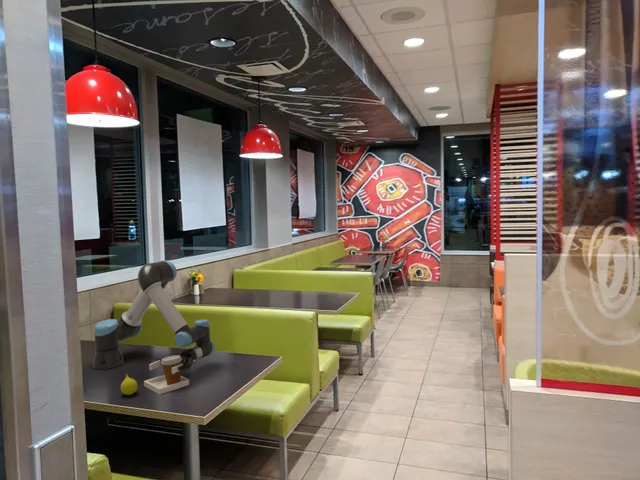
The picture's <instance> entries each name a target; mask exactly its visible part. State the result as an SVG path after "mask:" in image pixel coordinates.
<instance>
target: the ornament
mask: <svg viewBox="0 0 640 480" xmlns="http://www.w3.org/2000/svg"><path fill="white" fill-rule="evenodd" d="M137 390H138V382H137V381H136V379H134V378H132V377H129V375H128V373H126V374H125V378H124V380H123V381H122V382H121V384H120V391H121V393H122V394H124V395H125V396H131V395H134V393H136V391H137Z"/></svg>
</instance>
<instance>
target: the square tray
mask: <svg viewBox="0 0 640 480" xmlns="http://www.w3.org/2000/svg"><path fill="white" fill-rule="evenodd" d="M143 386H144V387H145V388H147V389H148V390H150V391H152V392H154V393H156V394H158V395H159V396H161V395H163V394H166V393H169V392H171V391H175V390H177V389H181V388H183V387H187V386H190V379H188V378H187V377H184V376H182V375H181V382H177V383H174V384H171V385H167V382H166V378H165V374H163V375H159V376H156V377H153V378H150V379H146V380H143Z"/></svg>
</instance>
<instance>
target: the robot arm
mask: <svg viewBox="0 0 640 480" xmlns="http://www.w3.org/2000/svg"><path fill="white" fill-rule="evenodd" d="M177 272H178V271H177V268H176V266H175V264H174V263H173V262H172V261H170V260H160V261H154V262H149V263H147V264H146V263H145V264H144V265H143V266H141V267H140V269H139V271H138V275H137V281H138V284H139V286H140V291H139V292H138V294H137V295H136V297H135V298H134V300H133V302H132V303H131V305H130V306H129V308H128V310H126V311H124V312H123V313H122V314H121V315H120V317H119V318H118V319H116V318H114V319H113V318H111V319H110V318H109V319H105V320H102V321H99V322H98V323H96V324H95V326H94V332H93V333H94V343H95V345H94V346H95V347H94V348H95V354H94V358H93V361H92V367H93V368H94V369H96V370H106V369H113V368H116V367H119V366H121V365H123V364H124V356H123V354H122V352H121V351H122V350H121V349H120V342H121V341H125V340H127V339H130V338H133V337H135V336H137V335H139V334H140V333H141V331H142V328H143V317H144V315H145V313H146V312H147V310H149V307H150V306H151V304H152V303H154V306H155V307H156V308H157V310H158V311H159V313H160V314H161V316H162V317H163V318H164V320H165V321H166V323H167V324H168V326H169V327H170V329H171V330H172V332H173V333H174V335H175V336H174V342H175V344H176V346H177V347H179V348H185V347H188V348H187V349H184V350H183V351H181V353H180V354H178V355H179V356H181V358H182V360H181V364H179V365H177V366H175V367H173V368H172V374H174V373H176V372H178V371H180V370H181V371H183V370H186V369H187V370H190V369H191V368H192V366H193V365H194V364H195V363H196V362H197V361H200V360H202V359H204V358H206V357H208V356H210V355H212V354H213V353H214V352H215V350H216V346H215V344H214V341H212V340H211V329H210V328H211V327H210V321H209V320H208V319H198V320H197V319H196V320H195V321H194V325H193V326H192V327H191V326H189V324H188V323H187V321H186V320H185V319H184V317H183V316H182V314H181V313H180V311H179V310H178V308H177V307H176V305H175V303H173V301H172V300H171V298H170V297H169V295H168V294H167V292H166V291H165V290H164V289H165V288H166V287H167V285H168V283H169V282H173V281H174V280H175V279H176V277H177V275H178V273H177ZM194 343H195V345H193V344H194ZM191 345H193V346H191ZM189 346H190V347H189ZM174 355H176V354H175V353H174V354H171V355H170V356H174ZM168 356H169V355H167V356H163V357H159V358H156V359H155V361H153V362H152V363H150V364H148V368H149V369H148V370H149V371H152V370H154V369H156V368H160V367H161V366H162V364H161V361H162V359H163V358H165V357H168Z"/></svg>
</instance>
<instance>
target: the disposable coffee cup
mask: <svg viewBox="0 0 640 480" xmlns="http://www.w3.org/2000/svg"><path fill="white" fill-rule="evenodd" d="M173 355H174V354H173ZM179 355H180V354H178V355H176V354H175V355H174V356H171V355H167V356H168V357H167V356H164V357H165V358H163V359H162V361H161V364H162V365H161V366H162V369H163V373H164V374H163V375H165V378H166V382H167V385H171V384H174V383H177V382H181V376H182V370H180V371H178V372H176V373H174V374H172V368H173V367H175V366H177V365H179V364H182V363H181V360H182V358H181V356H179Z"/></svg>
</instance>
